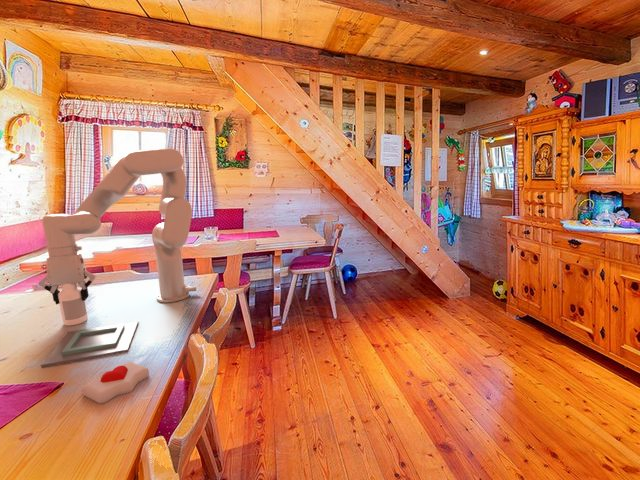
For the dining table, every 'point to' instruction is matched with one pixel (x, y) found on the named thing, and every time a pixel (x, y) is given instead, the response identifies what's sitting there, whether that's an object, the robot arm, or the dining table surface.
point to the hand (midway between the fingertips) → (72, 300)
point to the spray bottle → (72, 305)
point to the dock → (92, 343)
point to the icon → (115, 382)
